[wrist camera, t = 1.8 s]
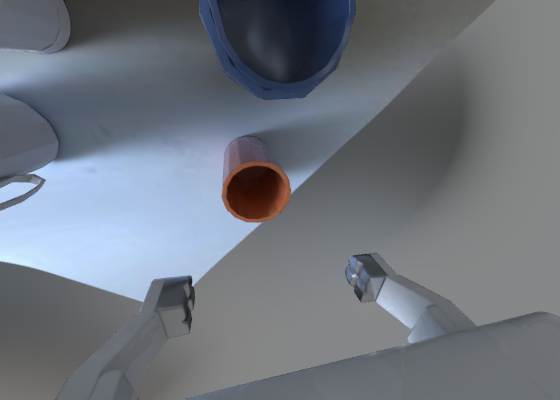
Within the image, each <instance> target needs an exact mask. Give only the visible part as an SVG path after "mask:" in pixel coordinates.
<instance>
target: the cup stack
mask: <svg viewBox="0 0 560 400" xmlns="http://www.w3.org/2000/svg"><path fill="white" fill-rule="evenodd" d="M209 4H210V9H211V13H212V17H213V20H214V23H215V27H216V31H217V34H218V38H219V41H220V44H221V46H222V48H223V49H224V51H225V52H226V54H227V55H228V57H229V59H230V62H231V64H232V65H233V66H235V68H236V69H237V70H238V71H239V72H240V73H241V74H243V75H244V76H245V77H247V78H248V79H249V80H251V81H252V82H253V83H255V84H256V85H257V86H259V87H262V88H264V89H271V90H275V91H280V92H289V91H294V90H298V89H302V88H307V87H309V86H311V85H313V84H314V83H315V82H316V81H318V80H319V79H320V78H322V77H323V76H324V75H326V74H327V73H328V72H330V70H331V69H332V67H333V66H334V64H335V63H336V61H337V59H338V58H339V56H340V55H341V53H342V52H343V50H344V48H345V47H346V45H347V41H348V38H349V34H350V31H351V27H352V23H353V20H354V16H355V12H356V0H209Z"/></svg>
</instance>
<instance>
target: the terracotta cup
mask: <svg viewBox="0 0 560 400" xmlns="http://www.w3.org/2000/svg"><path fill="white" fill-rule="evenodd" d="M290 192H291V189H290V183H289V179H288V177H287V176H286V174H285V173H284V171H283V170H282V168H281V167H280V165H279V164H278V162H277V160H276V159H275V157H274V156H273V154H272V153H271V151H270V150H269V148H268V147H267V146H266V144H265V143H264V142H263V141H261V140H260V139H258V138H256V137H252V136H243V137H239V138H237V139H235V140H234V141H232V142H231V143H230V144H229V146H228V147H227V149H226V151H225V155H224V169H223V184H222V200H223V202H224V205H225V207H226V209H227V210H228V211H229V212H230V213H231V214H232V215H233V216H234V217H235V218H238V219H240V220H243V221H245V222H258V223H259V222H263V221H266V220H270V219H272V218H273V217H275V216H276V215H278V214H279V213H280V212H282V210H283V209H284V207H285V206H286V205H287V203H288V200H289V196H290Z"/></svg>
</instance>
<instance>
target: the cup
mask: <svg viewBox="0 0 560 400" xmlns="http://www.w3.org/2000/svg"><path fill="white" fill-rule="evenodd" d="M70 31H71V24H70V18H69V14H68V11H67V8H66V6H65V4H64V2H63V0H0V49H11V50H21V51H26V52H32V53H38V54H50V53H54V52H57V51H59V50H60V49H62V48H63V47H64V46H65V45H66V43H67V42H68V40H69V37H70Z"/></svg>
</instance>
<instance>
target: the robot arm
mask: <svg viewBox="0 0 560 400" xmlns="http://www.w3.org/2000/svg"><path fill="white" fill-rule="evenodd" d="M349 263H350V264H349V265H348V266H347V267H346V271H345V273H346V278H347V281H348V283H349V284H350V285H351V286H353V287H354V292H355V294H356V295H357V297H358V299H359V300H360V302H361V303H364V302H370V301H376V302H377V303H378V304H379V305H380V306H382V307H383V308H384V309H386V310H387V311H388V312H390V313H391V314H392V315H393V316H395V317H396V318H397V319H398V320H400V321H401V322H402V323H403V324H405V325H406V326H407V327H409V328H410V329H411V332H410V333H409V335H408V337H407V340H408V341H409V344H405V345H401V346H397V347H393V348H388V349H384V350H380V351H376V352H372V353H368V354H364V355H360V356H357V357H352V358H348V359H344V360H340V361H336V362H332V363H328V364H324V365H320V366H316V367H311V368H307V369H303V370H299V371H296V372H291V373H287V374H283V375H279V376H275V377H271V378H267V379H263V380H259V381H255V382H251V383H247V384H243V385H239V386H235V387H230V388H226V389H222V390H218V391H215V392H210V393H206V394H203V395H198V396H194V397H190V398H186V399H182V400H560V317H559V316H556V315H554V314H551V313H548V312H534V313H530V314H526V315H522V316H518V317H514V318H510V319H506V320H502V321H498V322H494V323H490V324H486V325H482V326H478V327H477V326H476V325H475V324H474V323H473V322H472V321H471V320H470V319H469V318H468V317H467V316H466V315H465V314H464V313H462V311H461V310H459V309H458V308H457V307H456V306H455V305H454V304H453V303H452V302H451V301H449V300H448V299H445V298H444V297H442V296H440V295H438V294H436V293H434V292H432V291H430V290H428V289H426V288H425V287H423V286H421V285H419V284H417V283H415V282H413V281H411V280H409V279H408V278H406V277H404V276H402V275H397V274H396V273H395V271H394V270H393V269H392V268H391V267H390V266H389V265H388V264H387V263H386V262H385V261H384V259H383V258H382V257H381V256H380V255H379V254H377V253H369V254H361V255H354V256H351V257H350V258H349ZM194 301H195V292H194V288H193V287H192V277H191V276H180V277H169V278H161V279H154V280H153V281H152V282H151V285H150V287H149V290H148V292H147V295H146V297H145V300H144V302H143V305H142V307H141V310H140V312H139V315H134V316H133V317H132V318H131V319H130V320H129V321H128V322H127V323H126V324H125V325H123V326H122V327H121V328H120V329H119V330H118V331H117V332H116V333H115V334H114V335H113V336H112V337H111V338H109V339H108V340H107V341H106V342H105V343H104V344H103V345H102V346H101V347H100V348H99V349H98V350H97V351H96V352H94V353H93V354H92V355H91V356H90V357H89V358H88V359H87V360H86V361H85V362H84V363H83V364H82V365H81V366H79V368H77V369H76V370H75V371H74V372H73V373H72V374H71V375H70V376H69V377H68V378H67V379H66V381H65V383H64V385H63V386H62V388H61V390H60V392H59V393H58V395H57V397H56V399H55V400H140V399H139V397H138V396H137V394H136V392H135V391H134V389H133V388H134V386H135V385H136V384H137V382H138V381H139V380H140V378H141V377H142V375H143V374H144V373H145V371H146V370H147V368H148V367H149V365H150V364H151V362H152V361H153V360H154V358H155V357H156V356H157V354H158V353H159V352H160V350H161V349H162V347H163V346H164V344H165V343H166V342H167V340H168V338H173V337H177V336H182V335H187V334H190V328H191V322H192V317H191V311H192V310H193V309H194Z"/></svg>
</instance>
